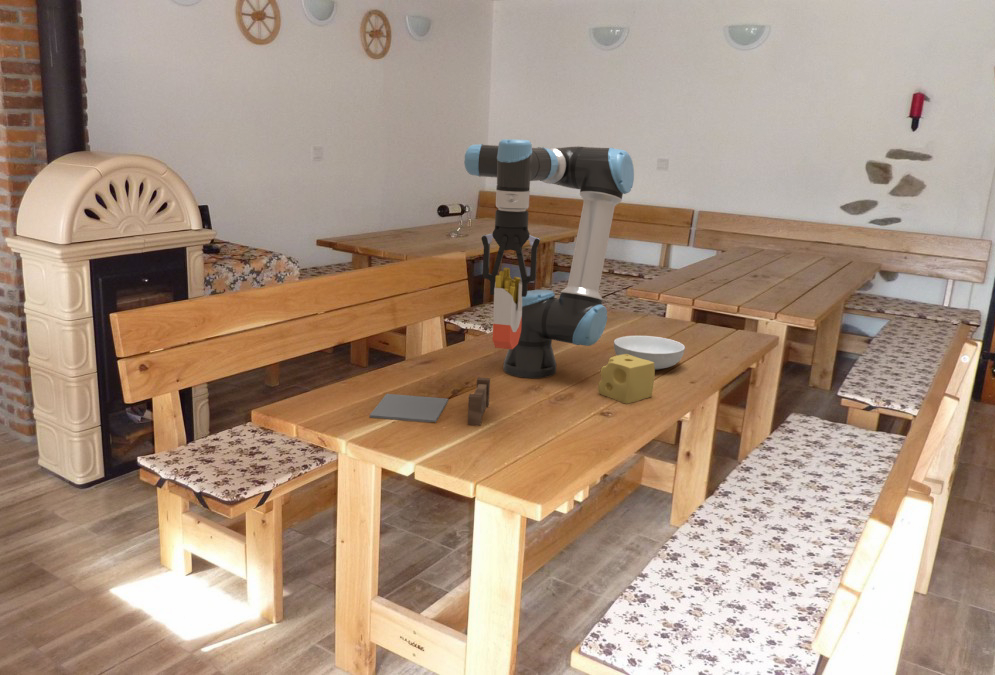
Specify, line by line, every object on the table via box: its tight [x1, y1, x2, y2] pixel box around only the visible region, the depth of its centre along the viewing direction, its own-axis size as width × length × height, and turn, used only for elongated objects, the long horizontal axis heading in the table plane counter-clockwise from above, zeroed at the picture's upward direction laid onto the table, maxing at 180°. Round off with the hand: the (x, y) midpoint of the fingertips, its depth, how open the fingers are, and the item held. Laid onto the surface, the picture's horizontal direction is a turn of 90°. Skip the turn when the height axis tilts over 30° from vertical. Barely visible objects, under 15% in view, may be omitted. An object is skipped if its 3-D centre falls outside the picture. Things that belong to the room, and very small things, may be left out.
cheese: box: [597, 354, 656, 405], centre depth 219 cm, size 10×11×10 cm
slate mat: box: [369, 393, 449, 424], centre depth 204 cm, size 16×16×1 cm
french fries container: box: [492, 267, 522, 350], centre depth 194 cm, size 5×11×18 cm, turn 165°
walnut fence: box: [467, 376, 491, 427], centre depth 201 cm, size 15×3×7 cm, turn 173°
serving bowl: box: [613, 335, 686, 371], centre depth 247 cm, size 21×21×7 cm
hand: (507, 309), depth 194 cm, fingers closed on french fries container, 5 cm apart
